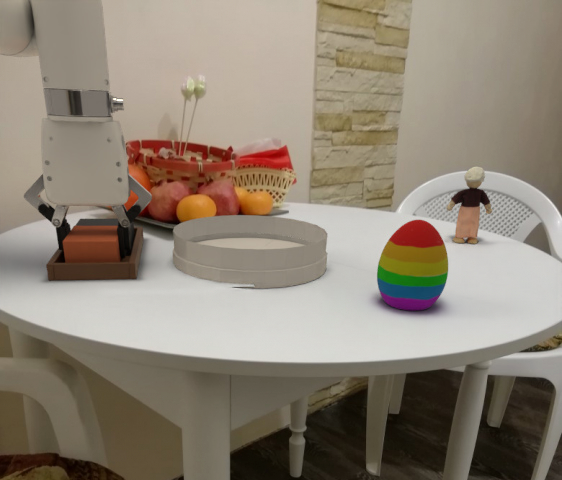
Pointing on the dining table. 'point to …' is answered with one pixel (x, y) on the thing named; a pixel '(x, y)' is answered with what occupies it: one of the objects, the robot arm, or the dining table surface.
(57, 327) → the dining table surface
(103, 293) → the dining table surface
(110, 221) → the pad
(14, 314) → the dining table surface
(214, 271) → the dish
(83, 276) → the pad frame
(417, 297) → the decorative egg
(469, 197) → the grandmother figurine
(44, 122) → the robot arm
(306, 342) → the dining table surface
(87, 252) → the pad
